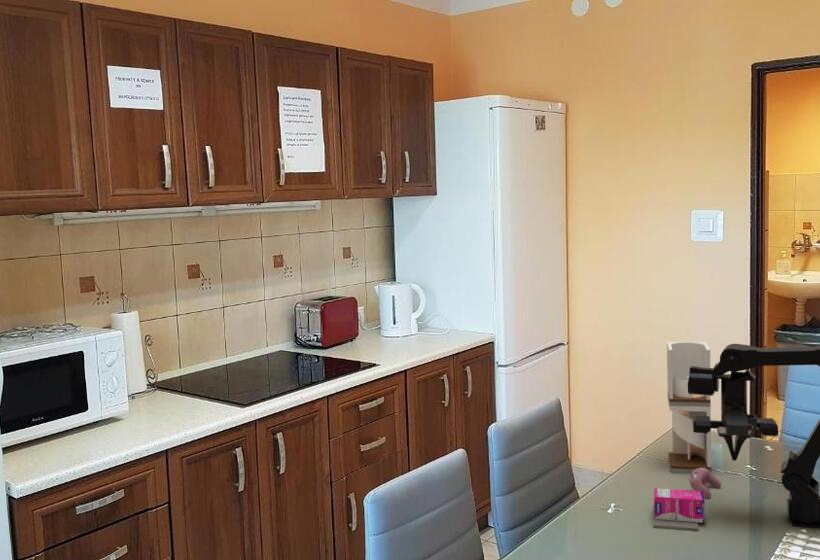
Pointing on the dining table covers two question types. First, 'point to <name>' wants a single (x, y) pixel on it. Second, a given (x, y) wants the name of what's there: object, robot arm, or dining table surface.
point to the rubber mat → (674, 524)
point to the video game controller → (703, 481)
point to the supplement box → (679, 505)
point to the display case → (687, 407)
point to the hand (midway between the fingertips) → (734, 460)
